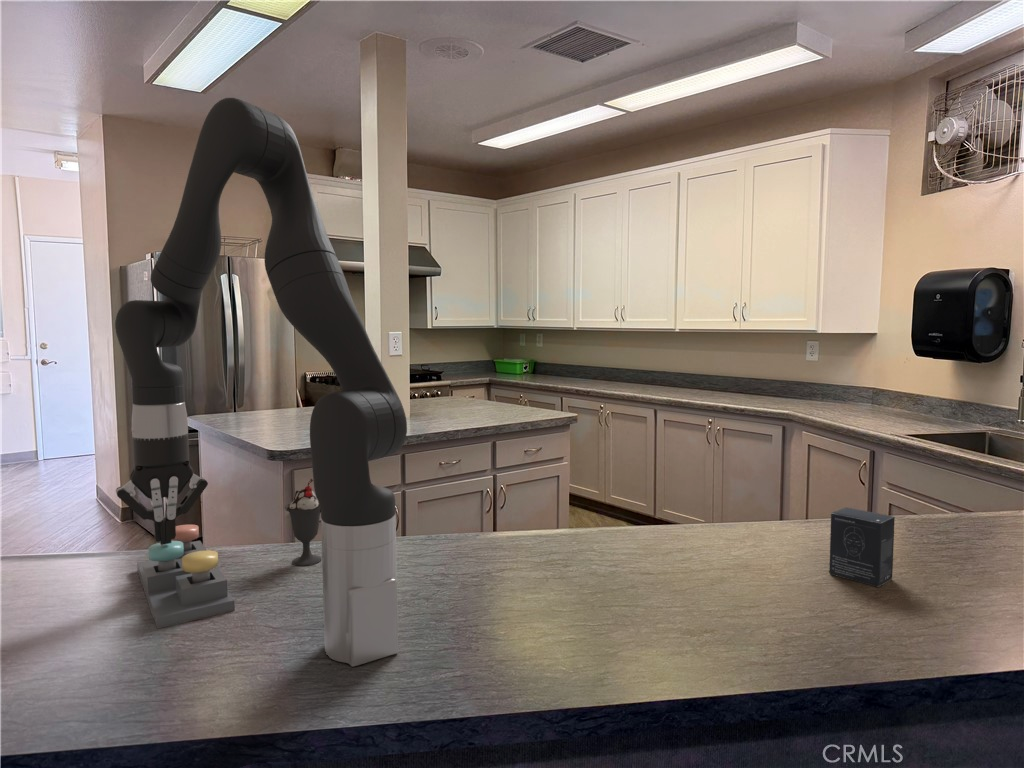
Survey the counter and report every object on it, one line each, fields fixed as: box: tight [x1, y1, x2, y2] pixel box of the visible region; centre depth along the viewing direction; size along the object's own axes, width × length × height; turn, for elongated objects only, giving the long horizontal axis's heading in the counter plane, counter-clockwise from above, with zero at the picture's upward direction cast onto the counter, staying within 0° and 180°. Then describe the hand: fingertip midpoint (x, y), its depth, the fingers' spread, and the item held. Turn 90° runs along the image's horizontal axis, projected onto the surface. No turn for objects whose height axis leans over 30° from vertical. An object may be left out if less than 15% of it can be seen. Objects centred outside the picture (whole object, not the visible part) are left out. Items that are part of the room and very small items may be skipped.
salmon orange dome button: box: [171, 524, 200, 552], centre depth 110 cm, size 5×5×4 cm
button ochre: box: [182, 549, 219, 584], centre depth 97 cm, size 5×5×4 cm
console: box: [136, 540, 236, 629], centre depth 103 cm, size 26×10×4 cm, turn 35°
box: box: [828, 507, 896, 588], centre depth 107 cm, size 8×6×11 cm
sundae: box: [284, 478, 322, 567], centre depth 114 cm, size 7×7×15 cm
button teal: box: [147, 541, 184, 572], centre depth 101 cm, size 5×5×4 cm
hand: (165, 542), depth 101 cm, fingers closed
